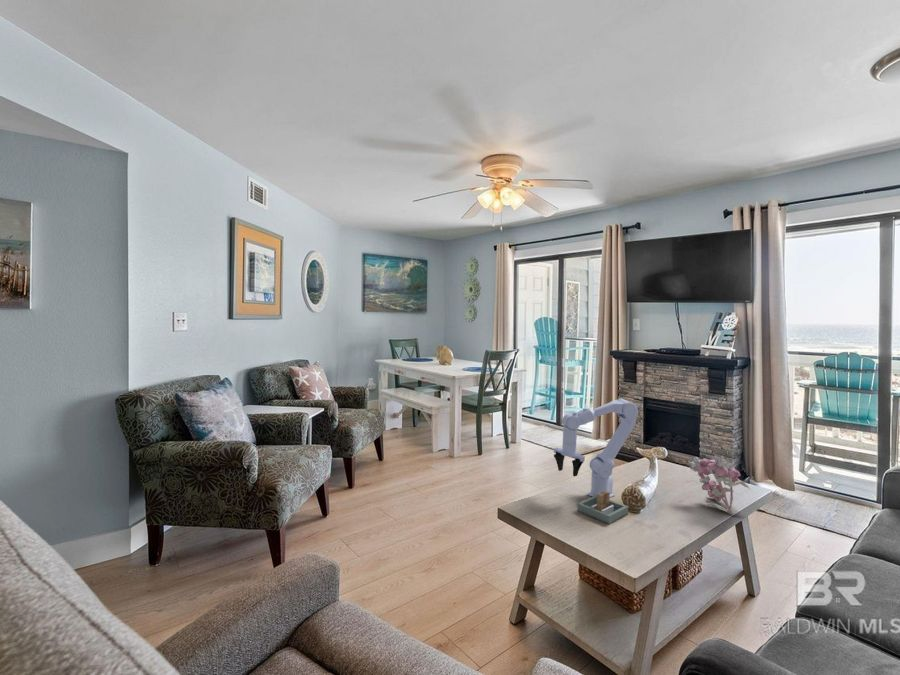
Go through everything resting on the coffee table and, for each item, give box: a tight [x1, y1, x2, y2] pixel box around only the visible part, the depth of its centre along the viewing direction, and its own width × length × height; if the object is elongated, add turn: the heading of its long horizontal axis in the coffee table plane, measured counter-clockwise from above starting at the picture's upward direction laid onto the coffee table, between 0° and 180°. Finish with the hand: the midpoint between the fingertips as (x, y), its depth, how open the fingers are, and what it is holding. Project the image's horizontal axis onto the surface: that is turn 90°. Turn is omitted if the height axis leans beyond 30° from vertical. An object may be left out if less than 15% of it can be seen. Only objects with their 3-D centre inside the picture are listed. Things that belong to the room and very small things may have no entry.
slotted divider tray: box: [576, 495, 629, 525], centre depth 176 cm, size 14×14×3 cm
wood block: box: [596, 491, 611, 511], centre depth 176 cm, size 6×2×8 cm, turn 130°
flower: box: [687, 454, 750, 516], centre depth 185 cm, size 20×22×24 cm
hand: (567, 473), depth 191 cm, fingers open, 7 cm apart
